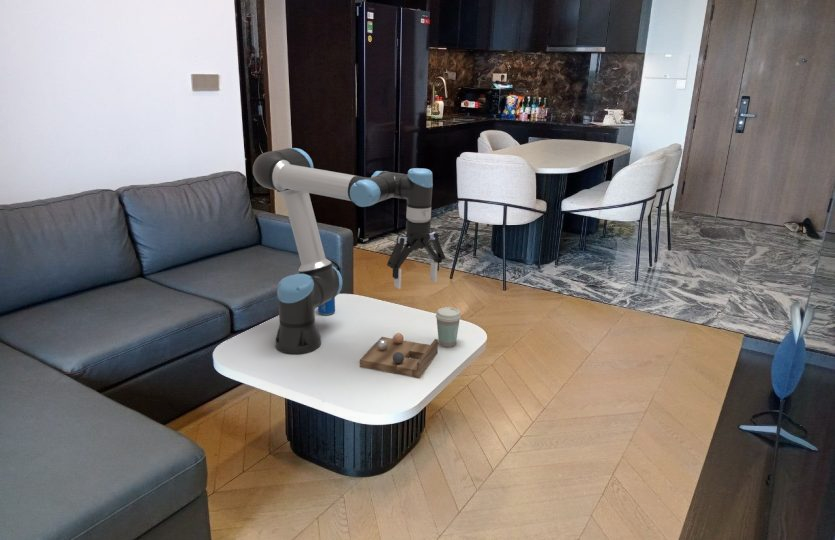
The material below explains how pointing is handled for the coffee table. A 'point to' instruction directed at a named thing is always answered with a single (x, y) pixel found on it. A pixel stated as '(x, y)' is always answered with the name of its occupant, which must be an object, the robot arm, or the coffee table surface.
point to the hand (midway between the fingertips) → (415, 284)
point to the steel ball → (382, 344)
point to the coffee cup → (447, 326)
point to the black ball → (398, 357)
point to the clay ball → (398, 338)
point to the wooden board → (408, 367)
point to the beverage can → (327, 307)
